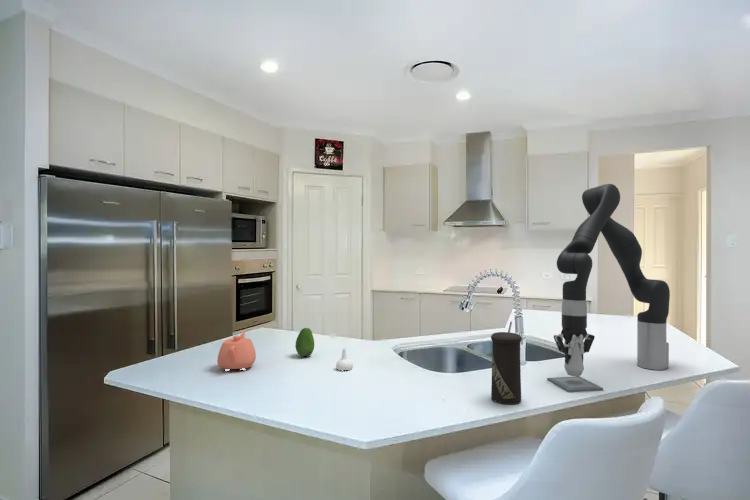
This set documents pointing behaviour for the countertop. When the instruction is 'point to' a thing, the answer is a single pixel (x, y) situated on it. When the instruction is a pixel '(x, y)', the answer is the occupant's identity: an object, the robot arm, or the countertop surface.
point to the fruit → (305, 342)
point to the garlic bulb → (344, 362)
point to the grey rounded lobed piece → (575, 360)
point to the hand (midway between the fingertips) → (573, 365)
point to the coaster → (574, 384)
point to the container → (506, 368)
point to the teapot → (236, 353)
